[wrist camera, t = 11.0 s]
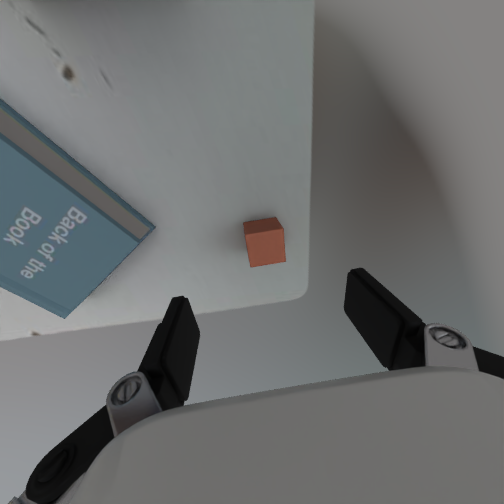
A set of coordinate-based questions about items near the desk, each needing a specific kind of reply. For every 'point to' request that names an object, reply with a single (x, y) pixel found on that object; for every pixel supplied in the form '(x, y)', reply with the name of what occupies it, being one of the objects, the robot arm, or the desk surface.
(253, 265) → the block
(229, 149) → the desk surface
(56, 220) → the book
